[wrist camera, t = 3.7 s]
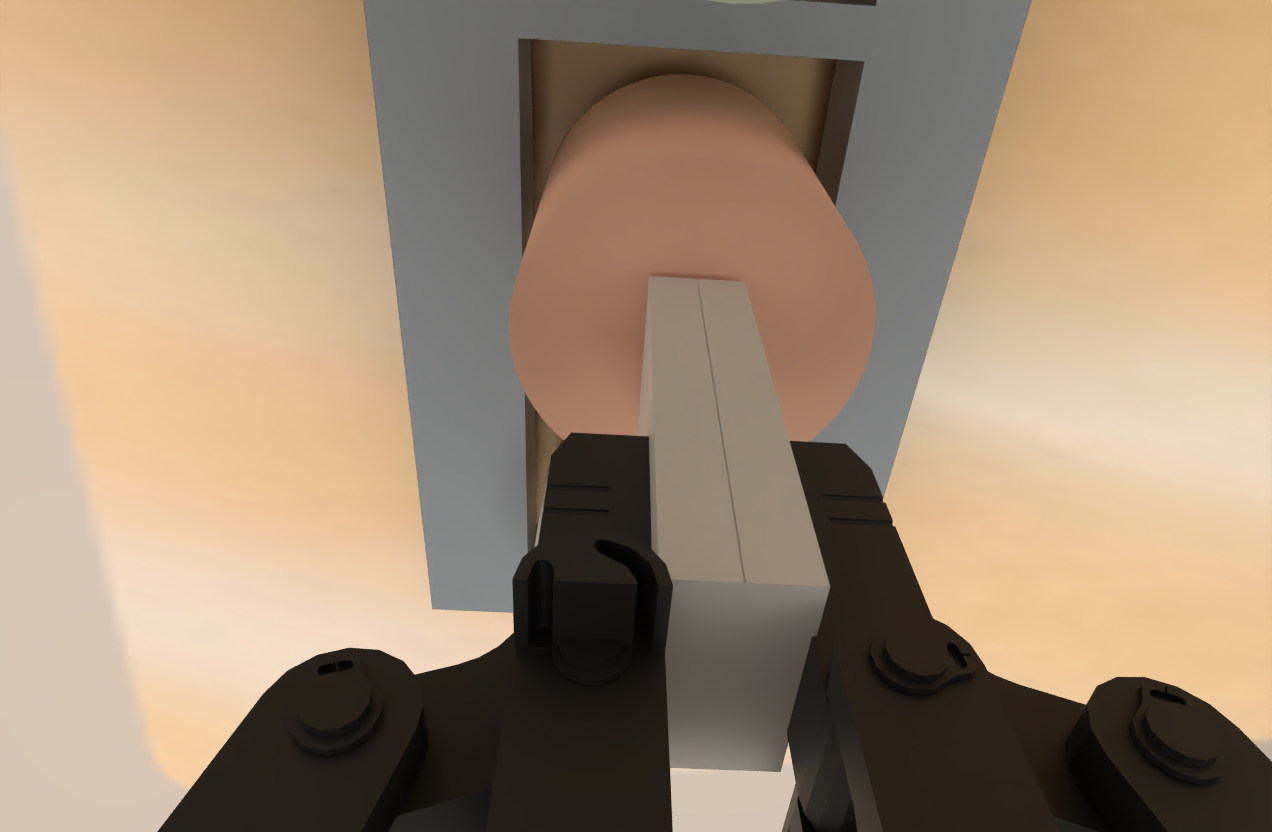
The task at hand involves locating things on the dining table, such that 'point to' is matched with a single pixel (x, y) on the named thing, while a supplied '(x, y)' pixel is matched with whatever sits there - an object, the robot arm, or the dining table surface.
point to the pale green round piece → (746, 1)
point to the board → (503, 214)
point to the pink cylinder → (685, 254)
